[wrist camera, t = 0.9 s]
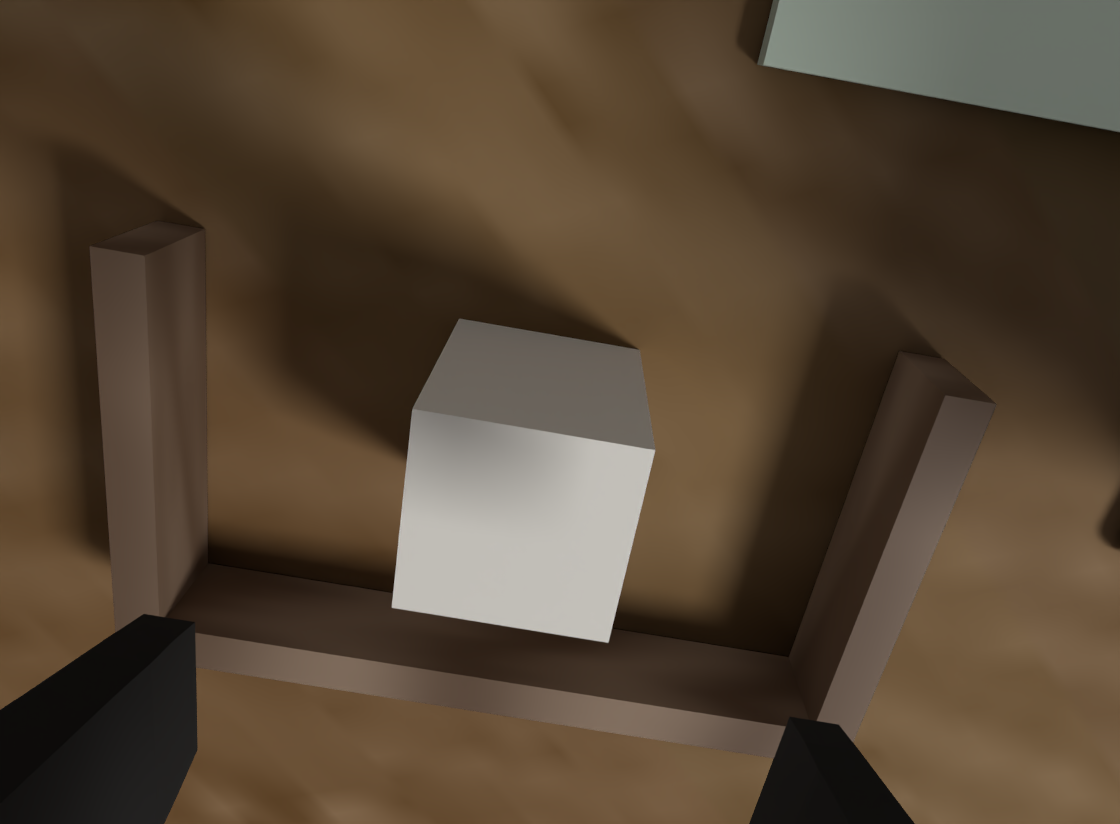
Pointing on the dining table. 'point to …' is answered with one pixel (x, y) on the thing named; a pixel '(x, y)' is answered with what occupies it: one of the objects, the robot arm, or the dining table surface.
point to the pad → (962, 51)
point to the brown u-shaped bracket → (481, 648)
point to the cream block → (524, 481)
